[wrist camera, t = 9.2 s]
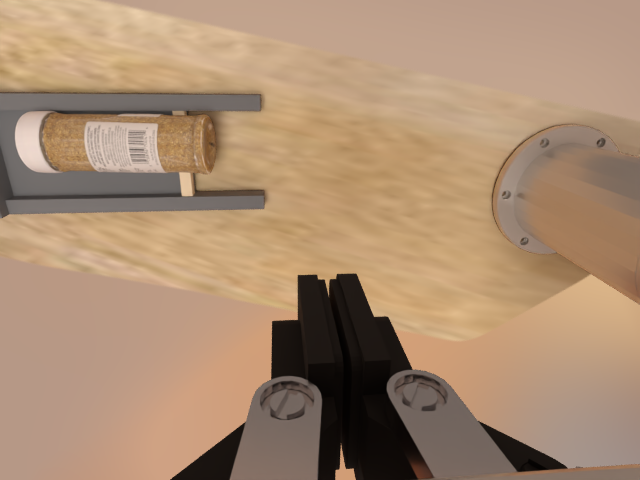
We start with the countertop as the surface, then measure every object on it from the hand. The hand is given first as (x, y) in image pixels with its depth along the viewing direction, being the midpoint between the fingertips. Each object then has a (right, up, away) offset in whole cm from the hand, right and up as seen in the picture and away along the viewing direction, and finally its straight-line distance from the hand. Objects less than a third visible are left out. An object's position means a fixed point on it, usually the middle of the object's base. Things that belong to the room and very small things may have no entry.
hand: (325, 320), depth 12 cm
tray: (-16, +10, +24) cm, 30 cm away
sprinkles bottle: (-8, +10, +20) cm, 24 cm away
